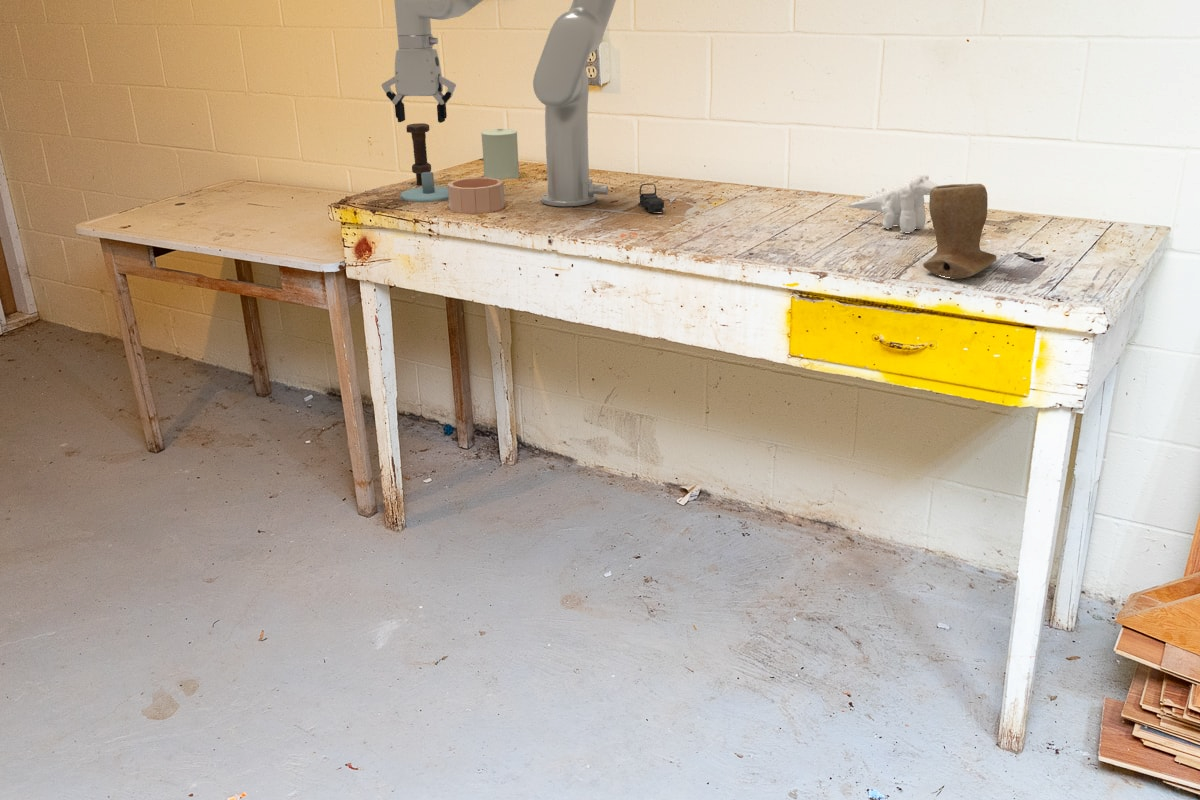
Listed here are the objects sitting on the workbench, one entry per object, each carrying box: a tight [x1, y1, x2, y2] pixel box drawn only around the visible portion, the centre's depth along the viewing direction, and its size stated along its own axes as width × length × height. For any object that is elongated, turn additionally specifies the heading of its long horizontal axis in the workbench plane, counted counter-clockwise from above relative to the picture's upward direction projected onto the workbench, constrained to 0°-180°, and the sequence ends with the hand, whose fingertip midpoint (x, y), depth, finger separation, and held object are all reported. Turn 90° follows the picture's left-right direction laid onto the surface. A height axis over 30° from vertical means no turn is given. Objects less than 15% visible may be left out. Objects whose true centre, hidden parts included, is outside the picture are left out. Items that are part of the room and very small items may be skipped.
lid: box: [400, 171, 448, 203], centre depth 246 cm, size 13×13×5 cm
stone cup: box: [922, 183, 997, 280], centre depth 180 cm, size 15×12×15 cm
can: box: [480, 128, 521, 180], centre depth 266 cm, size 9×9×12 cm
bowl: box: [446, 177, 506, 215], centre depth 234 cm, size 12×12×6 cm
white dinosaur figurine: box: [844, 174, 940, 233], centre depth 208 cm, size 7×24×11 cm, turn 45°
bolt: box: [405, 122, 432, 186], centre depth 257 cm, size 6×5×15 cm
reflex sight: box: [637, 182, 665, 213], centre depth 230 cm, size 4×10×5 cm, turn 10°
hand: (421, 121), depth 240 cm, fingers open, 9 cm apart
